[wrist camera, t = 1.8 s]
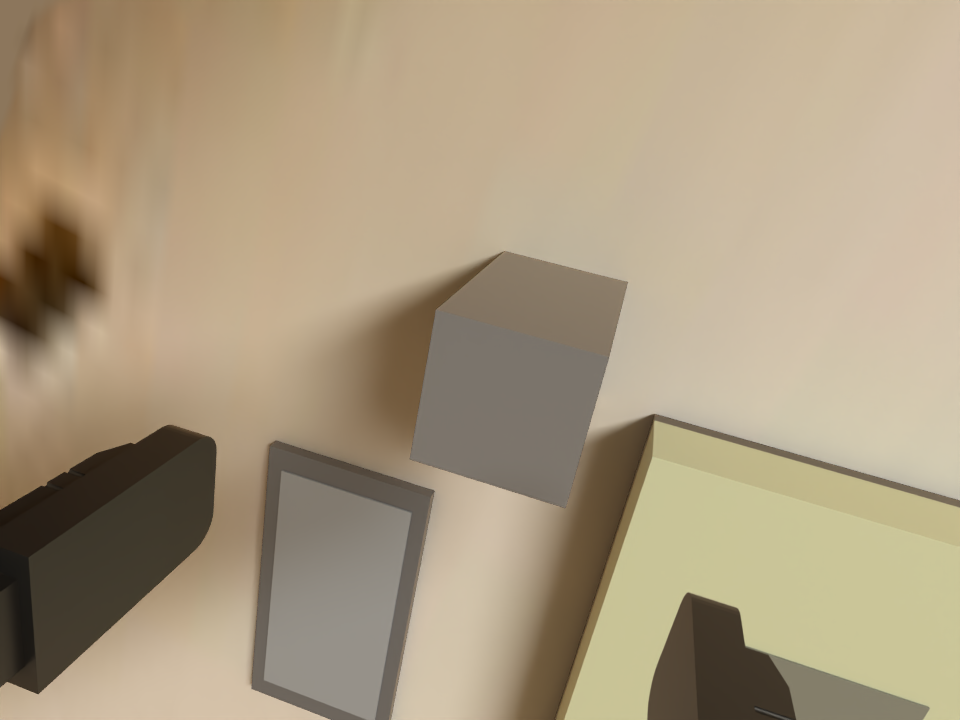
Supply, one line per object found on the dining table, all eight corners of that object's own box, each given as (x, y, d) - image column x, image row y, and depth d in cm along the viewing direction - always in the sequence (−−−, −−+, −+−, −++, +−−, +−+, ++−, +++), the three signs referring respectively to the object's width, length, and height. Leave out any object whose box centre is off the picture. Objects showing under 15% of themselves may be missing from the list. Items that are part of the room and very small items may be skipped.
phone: (283, 434, 27) (268, 446, 26) (439, 483, 26) (430, 498, 25) (263, 672, 32) (250, 689, 31) (393, 722, 31) (384, 741, 30)
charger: (504, 251, 22) (435, 309, 16) (627, 282, 21) (609, 356, 15) (480, 365, 23) (409, 461, 17) (594, 398, 23) (565, 510, 16)
